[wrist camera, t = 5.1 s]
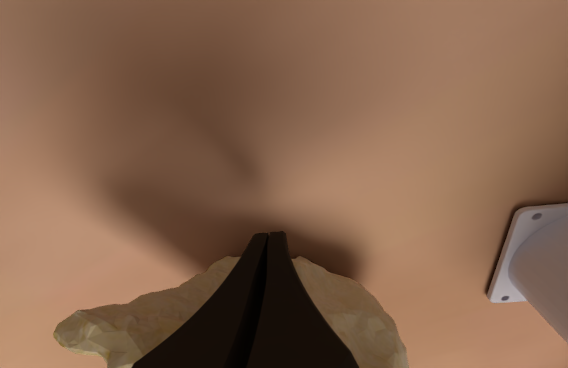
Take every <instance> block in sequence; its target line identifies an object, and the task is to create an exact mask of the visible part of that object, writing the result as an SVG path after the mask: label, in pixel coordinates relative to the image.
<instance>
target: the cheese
mask: <svg viewBox="0 0 568 368" xmlns="http://www.w3.org/2000/svg"><path fill="white" fill-rule="evenodd" d="M240 257H241V256H239V257H231V256H225V257H224V258H223V259H221V260H218V261H216V262H215V263H213V264H212V265H210V267H209V268H208V269H207V270H206V272H205V273H202V274H197V275H196V276H194V277H193V278H191V279H190V280H189V281H187V282H185V283H183V284H181V285H180V286H179V287H176V288H170V289H166V290H162V291H159V292H151V293H148V294H145V295H141V296H139V297H138V298H136V299H135V300H133V301H131V302H130V303H128V304H122V305H120V304H112V305H105V306H101V307H96V308H93V309H87V310H77V311H76V312H75V313H73V314H72V315H71V316H69V317H68V318H66V319H65V320H63V321H62V322H60V323H59V324H58V325H57V327H56V329H55V331H54V334H53V335H54V338H55V339H56V340H57V341H58V343H59V344H60V345H61V346H62V347H64V348H66V349H68V350H70V351H71V352H73V353H75V354H83V355H95V356H100V357H103V359H104V360H105V362H106V363H107V368H131V367H132V366H133V364H134V363H135V362H136V361H138V360H139V359H141V358H142V357H143V356H145V355H146V354H147V353H149V352H150V351H151V350H153V349H154V348H155V347H157V346H158V345H159V344H160V343H162V342H163V341H164V340H165V339H167V338H168V337H169V336H170V335H171V334H173V333H174V332H175V331H176V330H177V329H178V328H180V327H181V326H182V325H183V324H184V323H185V322H186V321H187V320H189V319H190V318H191V317H192V316H193V315H194V314H195V313H196V312H197V311H198V310H199V309H200V308H201V307H202V306H203V304H204V303H205V302H206V301H207V300H208V299H209V298H210V297H211V296H212V295H213V293H214V292H215V291H216V290H217V289H218V288H219V286H220V285H221V284H222V283H223V281H224V280H225V279H226V277H227V276H228V275H229V273H230V272H231V271H232V269H233V268H234V266H235V265H236V263H237V262H238V260H239V259H240ZM291 260H292V262H293V265H294V267H295V269H296V272H297V274H298V276H299V278H300V280H301V282H302V284H303V286H304V287H305V289H306V291H307V293H308V294H309V296H310V298H311V299H312V301H313V303H314V304H315V306H316V307H317V308H318V310H319V311H320V313H321V314H322V316H323V317H324V319H325V320H326V321H327V323H328V324H329V325H330V327H331V328H332V329H333V330H334V332H335V333H336V334H337V335H338V337H339V338H340V339H341V340H342V341H343V343H344V344H345V345H346V346H347V347H348V348H349V349H350V351H351V352H352V354H353V356H354V358H355V360H356V362H357V364H358V366H359V368H409V365H408V360H407V352H406V347H405V346H404V344H403V343H402V341H401V339H400V337H399V334H398V331H397V327H396V324H395V322H394V320H393V319H392V317H391V316H389V315H388V314H387V313H386V312H385V311H384V309H383V308H382V306H381V305H380V303H379V302H378V301H377V300H376V298H375V297H374V296H373V295H371V294H370V293H369V292H368V291H367V290H366V289H365V288H364V287H363V286H362V285H361V284H359V283H357V282H356V281H354V280H353V279H350V278H347V277H344V276H341V275H337V274H334V273H330V272H328V271H327V270H325V269H324V268H323V267H321V266H319V265H316V264H314V263H312V262H311V261H309V260H307V259H305V258H303V257H302V256H298V257H297V258H296V259H291Z"/></svg>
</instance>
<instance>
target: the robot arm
mask: <svg viewBox="0 0 568 368" xmlns="http://www.w3.org/2000/svg"><path fill="white" fill-rule="evenodd" d="M487 298H488V299H489V300H490V301H491V302H492V303H504V302H519V301H528V302H529V303H530V304H531V305H532V306H533V307H534V308H535V309H536V310H537V311H538V312H539V313H540V315H541V316H542V317H543V318H544V319H545V320H546V321H547V322H548V323H549V324H550V325H551V326H552V327H553V328H554V329H555V331H556V332H557V333H558V334H559V335H560V336H561V337H562V338H563V339H564V340H565V341H566V342H567V343H568V203H563V204H552V205H542V206H531V207H523V208H520V209H519V210H517V211H516V212H515V214H514V217H513V220H512V223H511V226H510V229H509V231H508V234H507V237H506V240H505V243H504V246H503V249H502V252H501V255H500V258H499V261H498V264H497V267H496V270H495V273H494V276H493V279H492V282H491V285H490V288H489V291H488V294H487ZM131 368H359V366H358V364H357V362H356V360H355V358H354V356H353V354H352V352H351V351H350V349H349V348H348V347H347V346H346V345H345V344H344V343H343V341H342V340H341V339H340V338H339V337H338V335H337V334H336V333H335V332H334V330H333V329H332V328H331V327H330V325H329V324H328V323H327V321H326V320H325V319H324V317H323V316H322V314H321V313H320V311H319V310H318V308H317V307H316V306H315V304H314V303H313V301H312V299H311V298H310V296H309V294H308V293H307V291H306V289H305V287H304V286H303V284H302V282H301V280H300V278H299V276H298V274H297V272H296V269H295V267H294V265H293V262H292V260H291V257H290V254H289V251H288V244H287V238H286V233H285V232H283V231H280V232H270V235H268V233H258V234H255V235H254V236H253V237H252V239H251V241H250V243H249V244H248V246H247V248H246V249H245V251H244V253H243V254H242V256H241V257H240V259H239V260H238V262H237V263H236V265H235V266H234V268H233V269H232V271H231V272H230V273H229V275H228V276H227V277H226V279H225V280H224V281H223V283H222V284H221V285H220V286H219V288H218V289H217V290H216V291H215V292H214V293H213V295H212V296H211V297H210V298H209V299H208V300H207V301H206V302H205V303H204V304H203V306H202V307H201V308H200V309H199V310H198V311H197V312H196V313H195V314H194V315H193V316H192V317H191V318H190V319H189V320H187V321H186V322H185V323H184V324H183V325H182V326H181V327H180V328H178V329H177V330H176V331H175V332H174V333H173V334H171V335H170V336H169V337H168V338H167V339H165V340H164V341H163V342H162V343H160V344H159V345H158V346H157V347H155V348H154V349H153V350H151V351H150V352H149V353H147V354H146V355H145V356H143V357H142V358H141V359H139V360H138V361H136V362H135V363H134V364H133V366H132V367H131Z"/></svg>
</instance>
